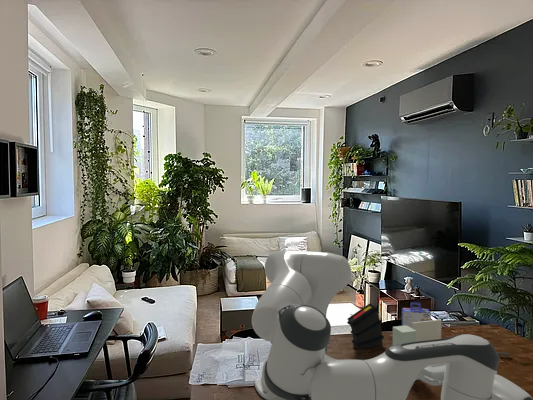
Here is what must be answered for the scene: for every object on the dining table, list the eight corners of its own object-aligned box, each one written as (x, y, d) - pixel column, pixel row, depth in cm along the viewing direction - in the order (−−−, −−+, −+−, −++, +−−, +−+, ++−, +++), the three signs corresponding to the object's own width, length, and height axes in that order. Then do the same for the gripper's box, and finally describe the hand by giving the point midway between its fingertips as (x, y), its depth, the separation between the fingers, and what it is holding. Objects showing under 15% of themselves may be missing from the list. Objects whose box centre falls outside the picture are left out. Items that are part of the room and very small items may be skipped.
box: (402, 374, 118) (402, 332, 117) (392, 367, 123) (392, 326, 122) (416, 372, 119) (416, 330, 119) (406, 365, 124) (406, 325, 124)
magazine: (390, 340, 141) (376, 305, 139) (363, 360, 137) (347, 325, 135) (384, 336, 145) (369, 302, 142) (357, 356, 141) (341, 321, 138)
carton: (446, 383, 113) (447, 341, 113) (411, 359, 129) (412, 322, 129) (477, 377, 116) (478, 337, 116) (439, 355, 132) (440, 319, 132)
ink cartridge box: (428, 340, 145) (429, 302, 144) (431, 346, 140) (432, 307, 139) (401, 338, 147) (401, 300, 147) (402, 344, 142) (403, 305, 141)
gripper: (433, 397, 93) (399, 371, 107) (500, 385, 99) (460, 361, 112) (433, 371, 93) (399, 348, 106) (501, 361, 99) (460, 340, 112)
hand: (430, 355), depth 109 cm, fingers open, 8 cm apart
